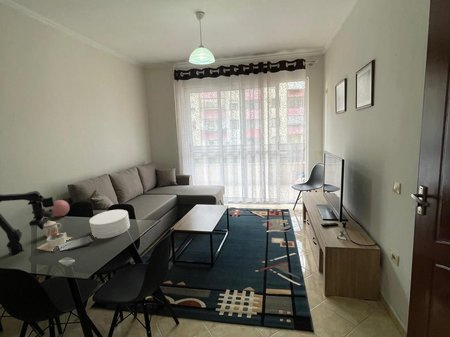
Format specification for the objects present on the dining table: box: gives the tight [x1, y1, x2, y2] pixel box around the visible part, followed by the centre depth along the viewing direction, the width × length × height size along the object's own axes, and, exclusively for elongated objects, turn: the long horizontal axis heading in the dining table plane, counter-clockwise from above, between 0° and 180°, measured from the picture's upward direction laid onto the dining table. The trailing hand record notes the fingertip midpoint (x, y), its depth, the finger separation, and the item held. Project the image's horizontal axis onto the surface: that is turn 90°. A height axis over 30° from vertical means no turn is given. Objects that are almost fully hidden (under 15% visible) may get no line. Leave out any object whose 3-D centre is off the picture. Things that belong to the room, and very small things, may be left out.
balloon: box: [47, 199, 70, 218], centre depth 239 cm, size 15×20×15 cm
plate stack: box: [88, 209, 131, 239], centre depth 203 cm, size 28×28×12 cm
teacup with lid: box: [43, 220, 62, 238], centre depth 204 cm, size 12×9×12 cm
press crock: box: [36, 232, 72, 252], centre depth 187 cm, size 18×18×6 cm
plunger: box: [51, 232, 60, 239], centre depth 186 cm, size 8×8×6 cm
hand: (42, 229), depth 185 cm, fingers closed
